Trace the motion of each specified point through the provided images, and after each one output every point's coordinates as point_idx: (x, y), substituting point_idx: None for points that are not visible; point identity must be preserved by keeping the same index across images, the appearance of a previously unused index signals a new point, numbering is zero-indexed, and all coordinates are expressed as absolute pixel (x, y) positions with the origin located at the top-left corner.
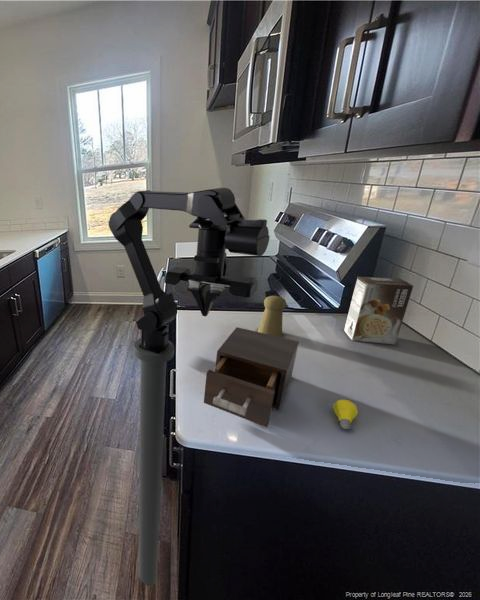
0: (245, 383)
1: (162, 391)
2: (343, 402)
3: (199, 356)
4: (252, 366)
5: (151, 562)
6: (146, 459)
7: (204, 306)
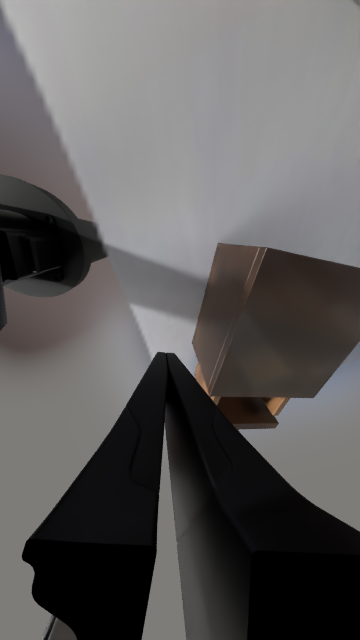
0: (246, 427)
1: (102, 250)
2: None
3: (150, 259)
4: None
5: None
6: None
7: (167, 445)
